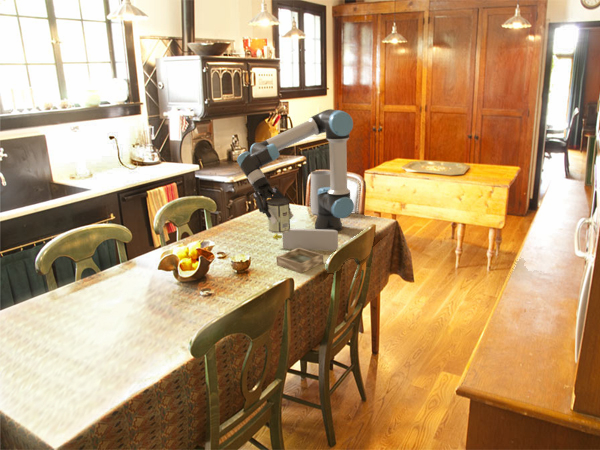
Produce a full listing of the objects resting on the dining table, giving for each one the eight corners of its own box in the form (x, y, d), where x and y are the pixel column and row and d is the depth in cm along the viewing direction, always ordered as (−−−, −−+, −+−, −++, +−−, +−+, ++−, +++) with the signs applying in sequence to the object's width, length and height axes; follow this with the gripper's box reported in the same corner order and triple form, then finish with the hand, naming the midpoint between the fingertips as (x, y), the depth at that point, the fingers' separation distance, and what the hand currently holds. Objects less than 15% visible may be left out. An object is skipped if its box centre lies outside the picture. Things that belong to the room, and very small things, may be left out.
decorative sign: (338, 248, 239) (338, 229, 236) (337, 251, 236) (337, 231, 233) (274, 245, 245) (273, 227, 242) (272, 248, 241) (271, 229, 238)
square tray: (298, 255, 231) (298, 247, 230) (323, 262, 221) (323, 254, 220) (276, 264, 220) (276, 256, 219) (301, 273, 211) (301, 264, 210)
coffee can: (274, 225, 233) (273, 196, 228) (294, 228, 228) (293, 199, 224) (263, 231, 224) (262, 202, 219) (283, 234, 219) (282, 204, 215)
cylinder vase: (310, 215, 295) (309, 174, 287) (312, 209, 307) (312, 170, 299) (330, 215, 293) (330, 175, 285) (332, 210, 305) (332, 170, 297)
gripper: (272, 181, 238) (296, 218, 233) (236, 190, 222) (261, 230, 217) (279, 172, 233) (304, 210, 228) (243, 180, 217) (269, 221, 212)
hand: (283, 219), depth 222 cm, fingers closed on coffee can, 10 cm apart
